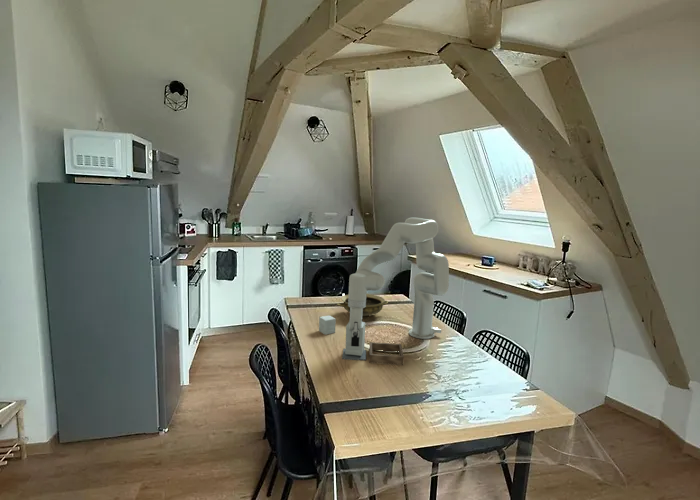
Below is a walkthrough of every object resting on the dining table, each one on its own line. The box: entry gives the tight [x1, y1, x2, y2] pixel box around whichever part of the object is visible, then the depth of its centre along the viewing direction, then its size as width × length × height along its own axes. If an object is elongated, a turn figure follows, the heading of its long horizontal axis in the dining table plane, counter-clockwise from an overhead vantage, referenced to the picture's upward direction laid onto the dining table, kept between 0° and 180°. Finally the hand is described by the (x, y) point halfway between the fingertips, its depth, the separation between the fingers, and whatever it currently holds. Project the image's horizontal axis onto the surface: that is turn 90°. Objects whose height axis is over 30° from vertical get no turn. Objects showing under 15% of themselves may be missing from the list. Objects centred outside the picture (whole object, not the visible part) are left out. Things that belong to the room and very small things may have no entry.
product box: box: [318, 315, 337, 336], centre depth 207 cm, size 6×6×7 cm
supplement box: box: [345, 320, 366, 356], centre depth 180 cm, size 7×7×13 cm
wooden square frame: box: [368, 341, 405, 366], centre depth 180 cm, size 14×14×4 cm
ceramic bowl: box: [336, 293, 389, 319], centre depth 233 cm, size 30×24×10 cm
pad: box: [341, 348, 367, 362], centre depth 181 cm, size 10×10×1 cm
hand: (355, 341), depth 180 cm, fingers closed on supplement box, 7 cm apart
